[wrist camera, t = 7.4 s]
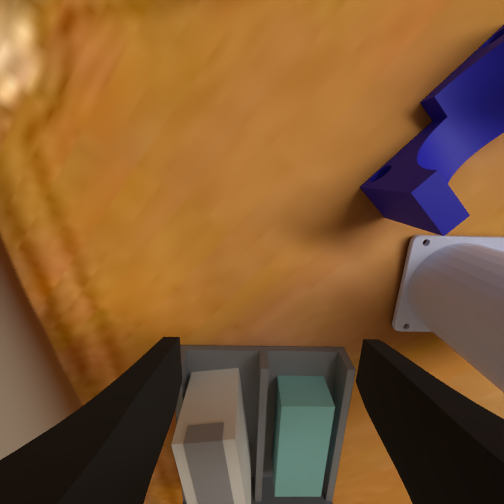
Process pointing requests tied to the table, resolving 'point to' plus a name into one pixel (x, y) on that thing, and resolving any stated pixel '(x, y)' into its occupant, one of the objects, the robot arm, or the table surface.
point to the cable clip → (444, 144)
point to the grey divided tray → (264, 396)
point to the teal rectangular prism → (301, 435)
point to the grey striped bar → (213, 440)
